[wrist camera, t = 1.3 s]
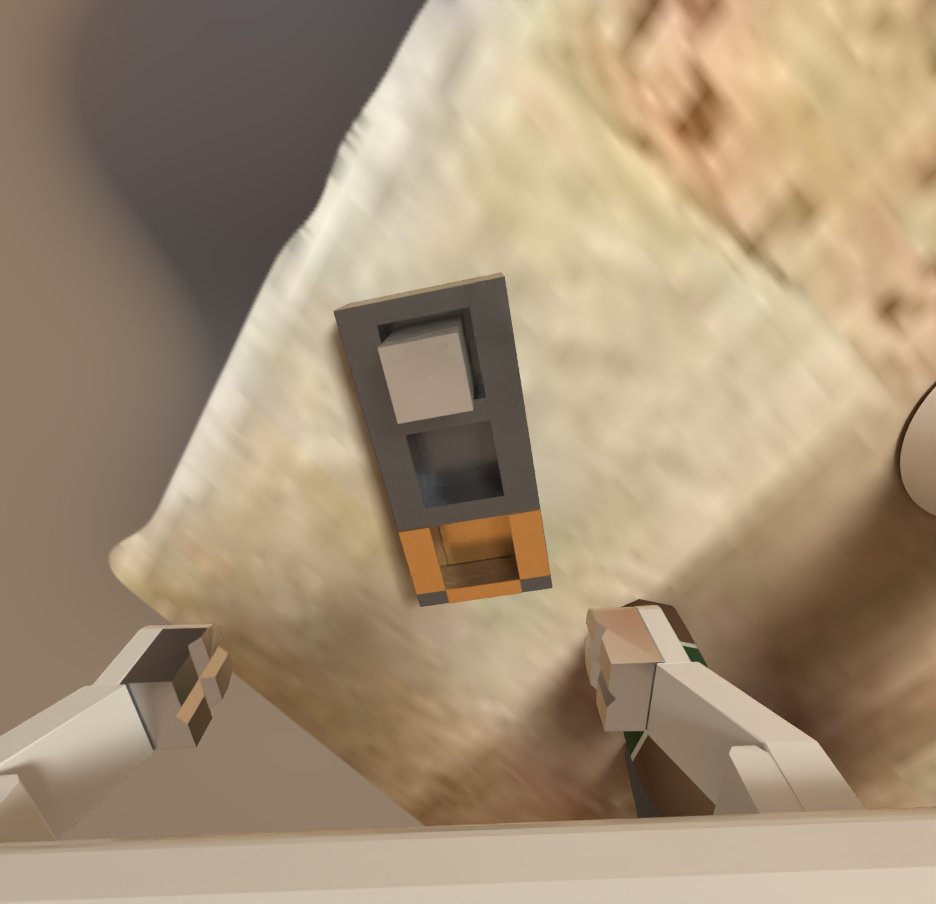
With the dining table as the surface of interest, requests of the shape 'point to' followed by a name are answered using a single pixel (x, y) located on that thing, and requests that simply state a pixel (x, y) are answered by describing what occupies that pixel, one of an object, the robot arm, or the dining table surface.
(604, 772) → the dining table surface
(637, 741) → the beer bottle
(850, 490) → the dining table surface
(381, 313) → the grey tray
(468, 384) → the block
